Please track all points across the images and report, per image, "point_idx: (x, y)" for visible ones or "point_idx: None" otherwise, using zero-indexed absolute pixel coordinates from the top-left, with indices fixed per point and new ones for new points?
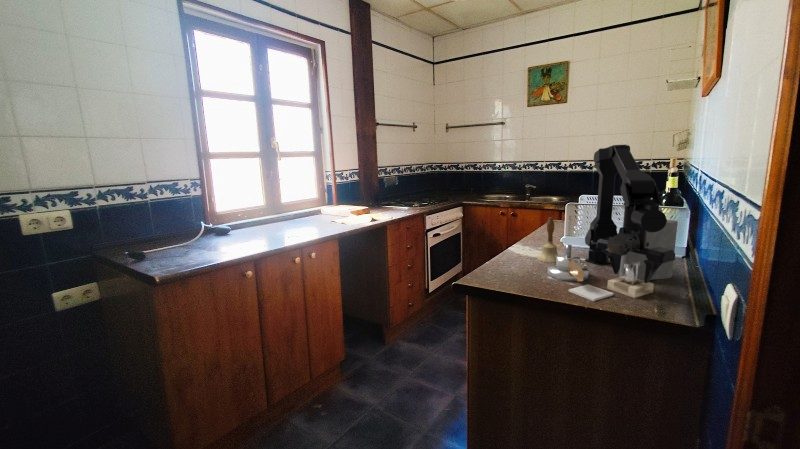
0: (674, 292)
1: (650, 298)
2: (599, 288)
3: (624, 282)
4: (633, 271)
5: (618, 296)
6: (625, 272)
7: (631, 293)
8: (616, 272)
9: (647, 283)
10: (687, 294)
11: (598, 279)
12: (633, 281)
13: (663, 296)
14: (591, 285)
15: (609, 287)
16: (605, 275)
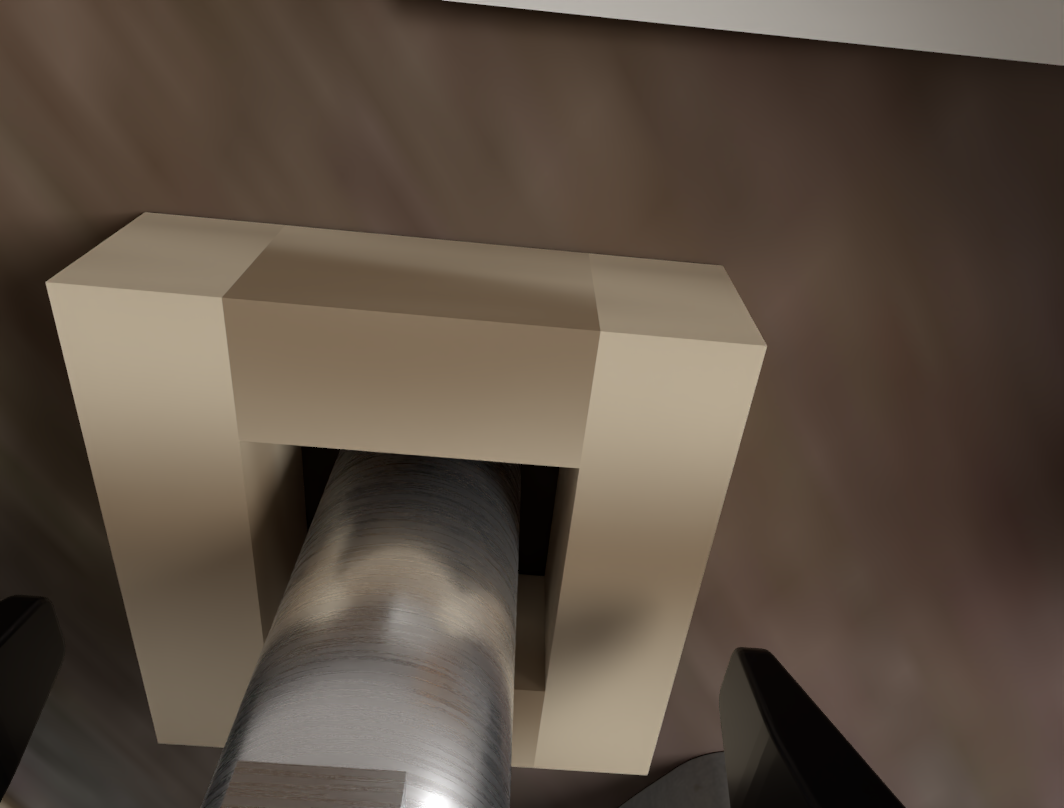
0: (105, 766)
1: (37, 400)
2: (807, 26)
3: (483, 510)
4: (219, 779)
5: (347, 29)
6: (456, 698)
7: (185, 241)
8: (736, 692)
9: (210, 697)
10: (5, 796)
11: (1018, 543)
12: (297, 570)
13: (42, 590)
14: (1032, 58)
15: (681, 274)
16: (980, 729)
